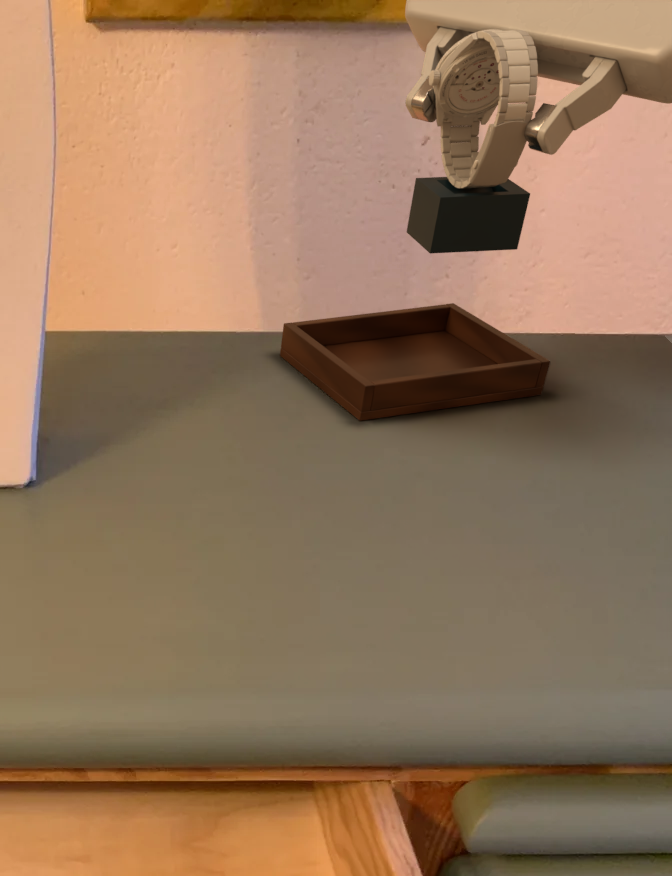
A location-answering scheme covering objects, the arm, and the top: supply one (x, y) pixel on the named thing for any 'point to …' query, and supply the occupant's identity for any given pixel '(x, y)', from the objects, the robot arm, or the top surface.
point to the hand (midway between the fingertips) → (473, 128)
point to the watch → (468, 171)
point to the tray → (412, 360)
